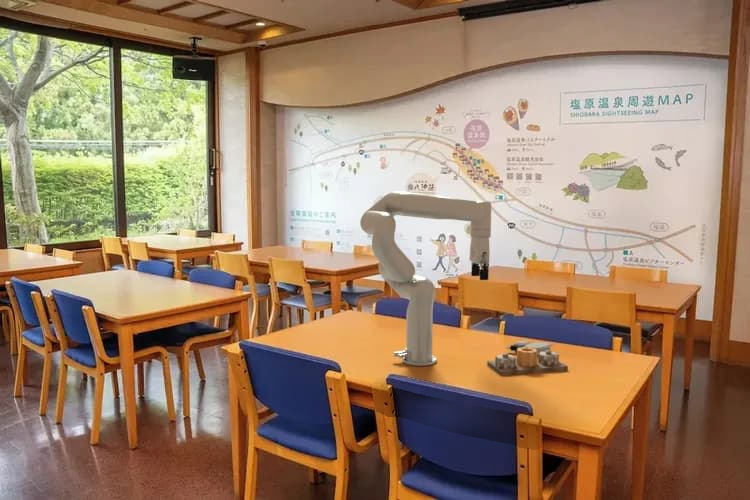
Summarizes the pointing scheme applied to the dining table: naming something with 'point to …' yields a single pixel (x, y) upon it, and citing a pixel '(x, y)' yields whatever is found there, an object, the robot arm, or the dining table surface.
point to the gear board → (510, 367)
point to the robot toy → (537, 345)
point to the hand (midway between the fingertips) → (479, 277)
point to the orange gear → (527, 356)
